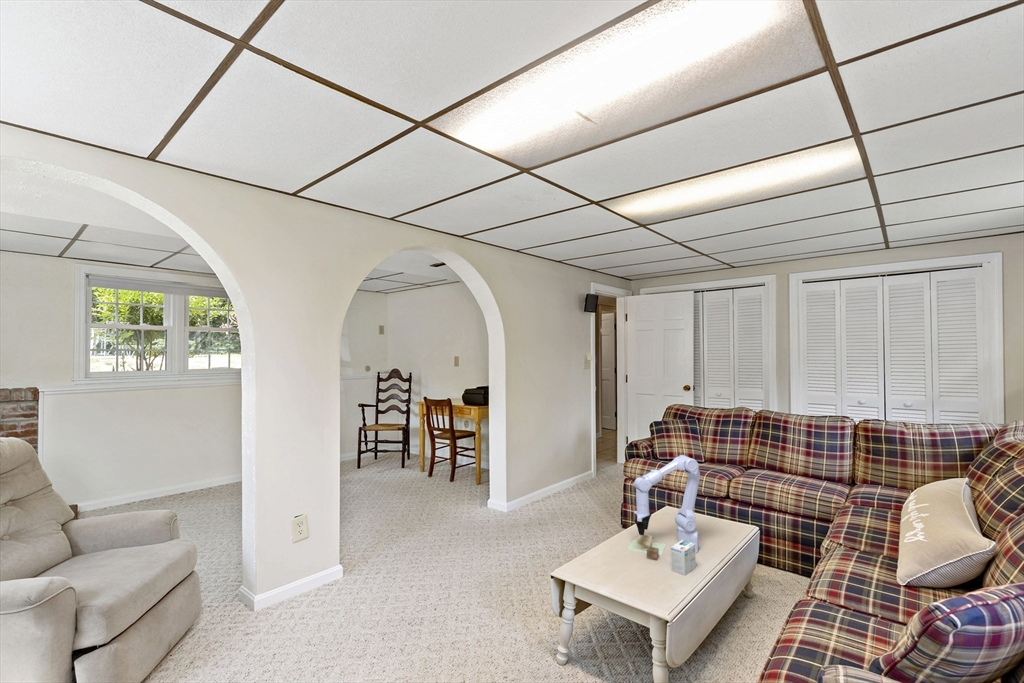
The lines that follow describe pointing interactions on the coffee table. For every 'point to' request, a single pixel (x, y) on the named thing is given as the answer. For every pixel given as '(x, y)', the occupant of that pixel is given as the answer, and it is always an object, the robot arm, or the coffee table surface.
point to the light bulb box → (683, 557)
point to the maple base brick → (644, 541)
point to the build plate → (634, 548)
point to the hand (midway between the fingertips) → (643, 531)
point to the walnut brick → (652, 553)
